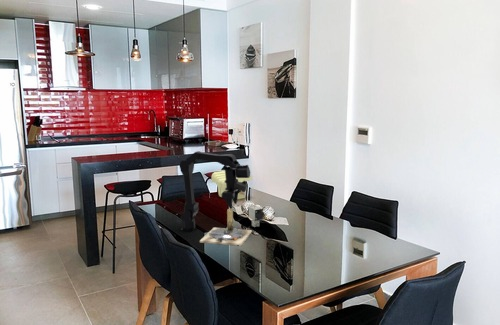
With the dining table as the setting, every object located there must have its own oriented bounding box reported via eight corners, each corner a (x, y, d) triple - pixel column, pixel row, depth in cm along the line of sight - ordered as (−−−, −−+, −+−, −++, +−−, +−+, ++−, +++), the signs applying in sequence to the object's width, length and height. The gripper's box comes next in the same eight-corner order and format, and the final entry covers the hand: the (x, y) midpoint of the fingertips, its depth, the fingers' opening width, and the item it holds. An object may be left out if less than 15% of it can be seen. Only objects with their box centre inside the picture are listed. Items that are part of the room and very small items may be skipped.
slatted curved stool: (211, 195, 307) (211, 172, 304) (229, 192, 316) (229, 170, 313) (233, 203, 283) (233, 178, 280) (252, 199, 292) (251, 175, 290)
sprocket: (204, 239, 206) (203, 216, 204) (215, 228, 224) (215, 207, 222) (239, 242, 202) (238, 219, 200) (247, 230, 220) (247, 209, 218)
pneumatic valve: (256, 229, 225) (256, 208, 223) (247, 223, 235) (247, 204, 234) (265, 228, 228) (265, 207, 226) (255, 222, 238) (255, 202, 236)
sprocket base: (199, 242, 205) (199, 236, 205) (213, 229, 226) (213, 224, 226) (241, 245, 200) (241, 240, 199) (251, 231, 221) (251, 226, 221)
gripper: (240, 181, 204) (243, 211, 207) (249, 174, 222) (251, 201, 224) (220, 182, 207) (222, 211, 209) (230, 174, 224) (232, 201, 227)
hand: (233, 206), depth 217 cm, fingers open, 9 cm apart
